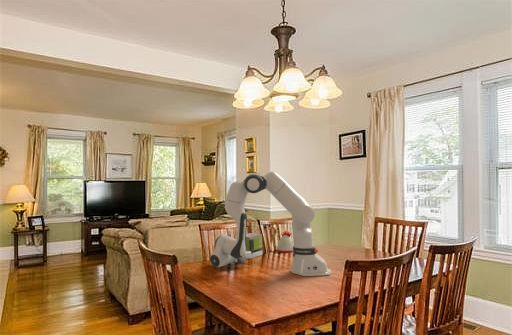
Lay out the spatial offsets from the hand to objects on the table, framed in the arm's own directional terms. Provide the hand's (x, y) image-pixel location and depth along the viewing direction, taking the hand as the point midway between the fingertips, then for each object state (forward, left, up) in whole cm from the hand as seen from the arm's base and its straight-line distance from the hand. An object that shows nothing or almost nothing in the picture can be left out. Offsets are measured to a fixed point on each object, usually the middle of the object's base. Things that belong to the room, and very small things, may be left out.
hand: (241, 251), depth 219 cm
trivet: (+8, -4, -7) cm, 12 cm away
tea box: (-4, -18, -7) cm, 20 cm away
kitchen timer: (-29, -37, -7) cm, 48 cm away
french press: (0, 0, -7) cm, 7 cm away
